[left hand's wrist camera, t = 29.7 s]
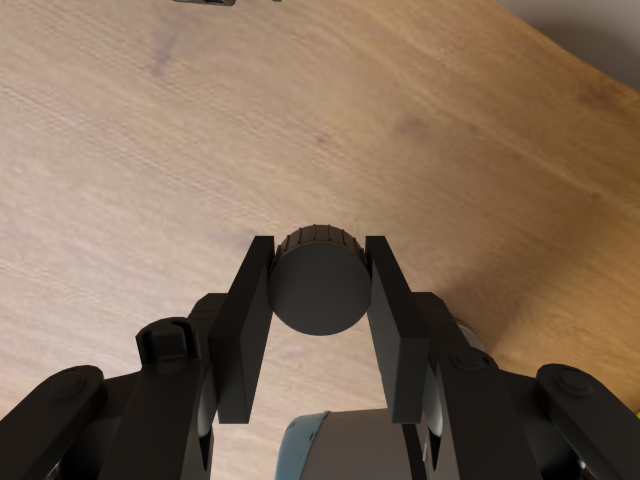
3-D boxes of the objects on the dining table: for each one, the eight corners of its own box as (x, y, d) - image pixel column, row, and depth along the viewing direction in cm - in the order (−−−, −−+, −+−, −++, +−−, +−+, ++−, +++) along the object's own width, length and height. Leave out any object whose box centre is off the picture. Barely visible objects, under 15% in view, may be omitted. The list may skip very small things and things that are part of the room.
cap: (276, 309, 15) (270, 338, 13) (268, 224, 14) (260, 243, 12) (366, 307, 15) (372, 335, 13) (367, 221, 14) (375, 240, 12)
